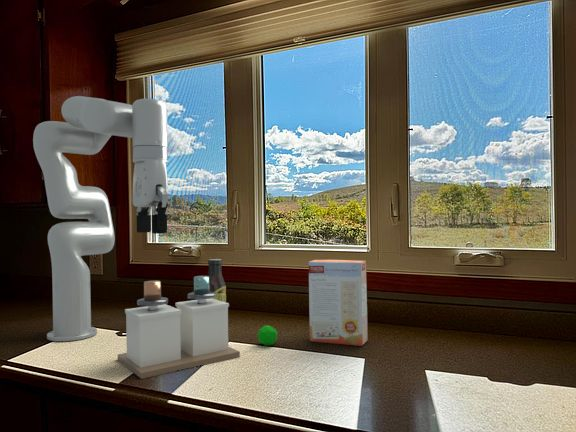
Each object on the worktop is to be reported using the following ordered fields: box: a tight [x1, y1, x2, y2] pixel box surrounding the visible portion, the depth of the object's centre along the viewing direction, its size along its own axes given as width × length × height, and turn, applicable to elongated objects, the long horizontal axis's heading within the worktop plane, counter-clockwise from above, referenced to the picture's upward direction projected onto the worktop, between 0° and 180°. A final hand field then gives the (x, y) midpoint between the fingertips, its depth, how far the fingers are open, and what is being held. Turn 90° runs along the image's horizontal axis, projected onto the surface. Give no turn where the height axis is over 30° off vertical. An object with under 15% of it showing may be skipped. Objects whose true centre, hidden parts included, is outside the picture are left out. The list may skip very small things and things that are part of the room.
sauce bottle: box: [207, 258, 227, 303], centre depth 136 cm, size 7×6×20 cm
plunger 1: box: [136, 280, 169, 311], centre depth 103 cm, size 7×7×14 cm
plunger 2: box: [187, 275, 216, 304], centre depth 110 cm, size 7×7×14 cm
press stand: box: [117, 298, 241, 380], centre depth 106 cm, size 16×23×12 cm
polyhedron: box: [257, 324, 278, 347], centre depth 116 cm, size 5×5×5 cm
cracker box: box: [308, 259, 369, 347], centre depth 118 cm, size 14×6×21 cm, turn 67°
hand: (151, 232), depth 103 cm, fingers open, 9 cm apart
